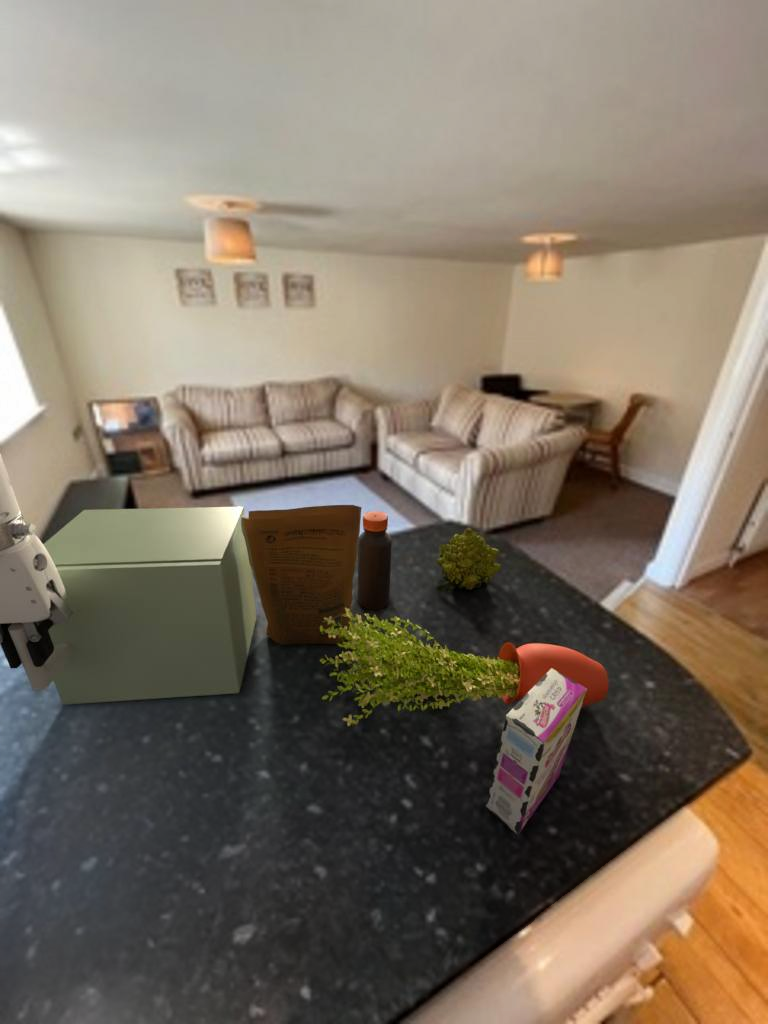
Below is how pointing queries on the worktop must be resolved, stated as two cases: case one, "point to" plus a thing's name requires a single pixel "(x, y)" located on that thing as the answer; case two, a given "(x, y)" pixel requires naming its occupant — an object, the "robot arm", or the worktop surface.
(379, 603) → the bottle
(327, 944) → the worktop surface
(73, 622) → the door
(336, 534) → the pancake mix bag
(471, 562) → the vegetable
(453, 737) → the worktop surface
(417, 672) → the potted plant
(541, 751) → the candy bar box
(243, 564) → the cabinet
